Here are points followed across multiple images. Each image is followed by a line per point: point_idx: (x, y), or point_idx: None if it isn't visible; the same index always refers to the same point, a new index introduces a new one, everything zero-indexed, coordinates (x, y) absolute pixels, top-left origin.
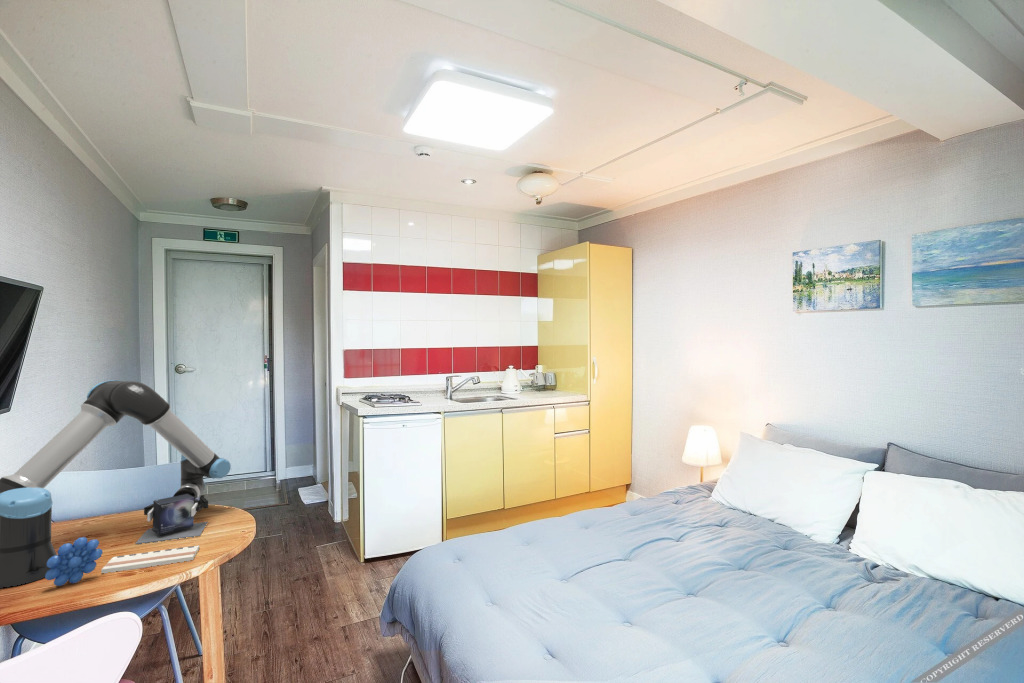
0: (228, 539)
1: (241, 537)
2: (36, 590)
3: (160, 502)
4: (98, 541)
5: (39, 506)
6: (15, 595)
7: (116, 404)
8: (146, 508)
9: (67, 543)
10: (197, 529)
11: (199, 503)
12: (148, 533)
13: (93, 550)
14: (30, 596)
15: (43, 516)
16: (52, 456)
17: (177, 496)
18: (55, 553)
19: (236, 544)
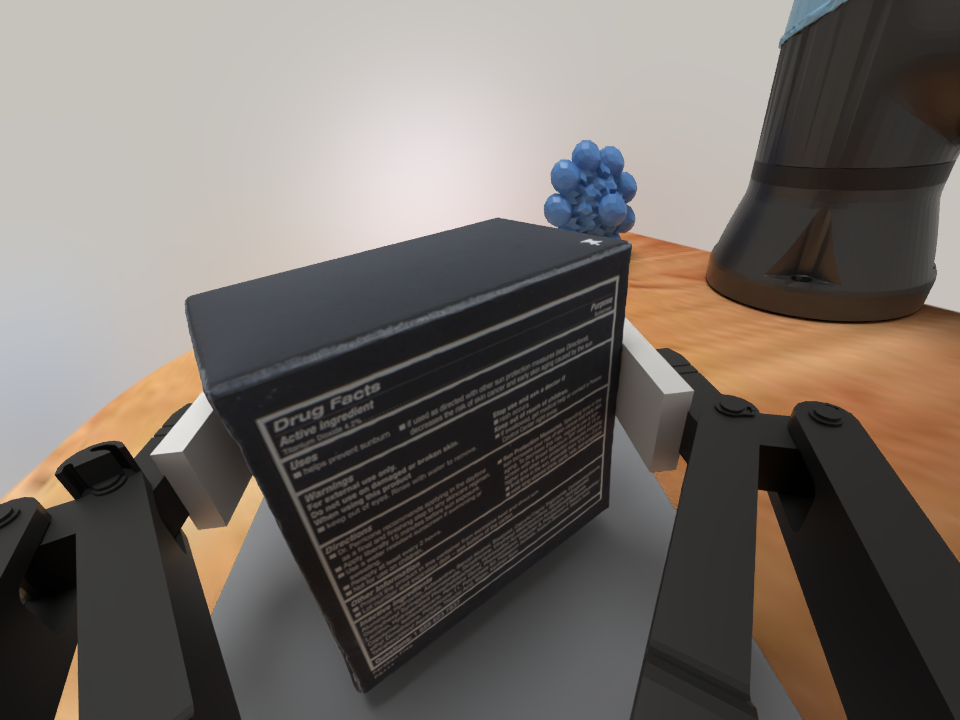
0: (175, 403)
1: (114, 412)
2: (651, 254)
3: (514, 226)
4: (553, 171)
5: (793, 3)
6: (678, 248)
7: None
8: (796, 409)
9: (606, 146)
10: (283, 553)
11: (134, 470)
12: (663, 554)
13: (561, 194)
14: (637, 246)
15: (780, 58)
16: None
17: (384, 297)
18: (756, 246)
19: (174, 364)
